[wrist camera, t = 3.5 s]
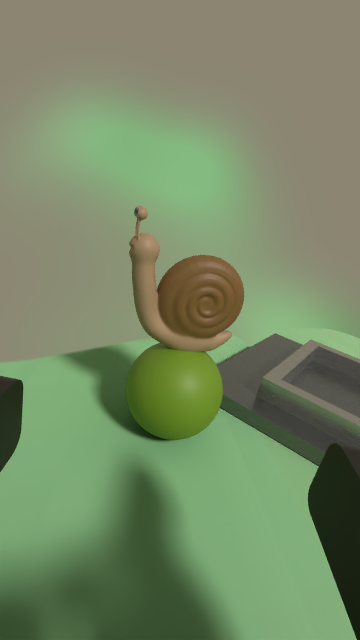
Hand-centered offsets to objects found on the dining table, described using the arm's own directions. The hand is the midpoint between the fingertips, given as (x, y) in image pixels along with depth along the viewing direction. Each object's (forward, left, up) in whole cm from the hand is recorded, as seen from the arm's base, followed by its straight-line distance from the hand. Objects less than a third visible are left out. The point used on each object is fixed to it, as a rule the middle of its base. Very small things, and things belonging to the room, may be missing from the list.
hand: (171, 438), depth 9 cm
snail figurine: (-5, +7, -7) cm, 12 cm away
